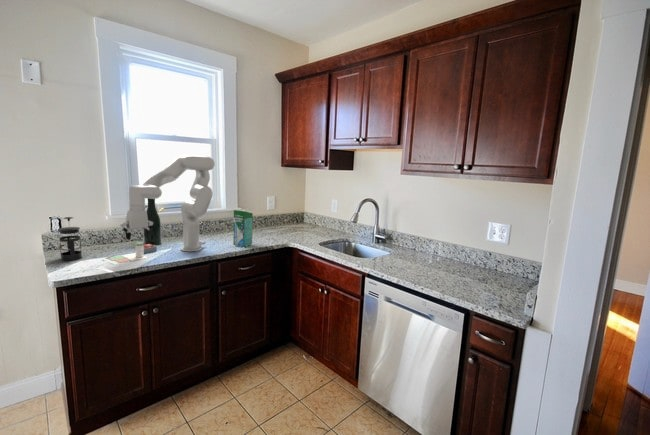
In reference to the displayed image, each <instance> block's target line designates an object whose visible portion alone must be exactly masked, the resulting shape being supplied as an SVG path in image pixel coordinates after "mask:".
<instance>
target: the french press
mask: <svg viewBox="0 0 650 435" xmlns="http://www.w3.org/2000/svg"><path fill="white" fill-rule="evenodd" d="M71 219H74V216H73V217H72V216H68V217H63V220H67V222H68V223H67V224H68V226H67V227H66V226H65V227H60V228H58V231H59V233H60V234H61V235H63V236H61V237H59V238H58V239H59V240H58V241H59V251H60V261H62V262H73V261H74V262H75V261H79V260H82V259H83V255H82V240H81V236H80V235H73V234H77V233H80V229H81V228H80V227H78V226H70V221H71ZM64 235H66V236H64ZM77 241H79V245H75V242H77ZM61 242H65V243H66V242H67V246H62V244H61ZM78 249H80V250H78ZM62 251H64V252H62Z"/></svg>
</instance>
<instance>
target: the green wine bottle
mask: <svg viewBox="0 0 650 435" xmlns="http://www.w3.org/2000/svg"><path fill="white" fill-rule="evenodd" d="M146 199H147V208H146V211H147V216H148V220H149V221H151V222H153V225H152V227H151V228H150V230H149V236H148V238H147V237H144V236H143V243H144V245H145V244H151V245H153V246H157V245H160V244H161V243H162V227H161V226H162V224H161V222H162V221H161V217H160V215H159V212H158V210H157V207H156V199H149V198H146ZM148 225H149V223H148ZM142 229H143V230H142V231H143V232H144V230H145V229H144V228H142Z"/></svg>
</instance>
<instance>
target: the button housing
mask: <svg viewBox="0 0 650 435" xmlns="http://www.w3.org/2000/svg"><path fill="white" fill-rule="evenodd" d="M143 249H144V255H145V254H151V253H155V252H157V249H158V248H157V245H151V247H149V248H144V245H143Z"/></svg>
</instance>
